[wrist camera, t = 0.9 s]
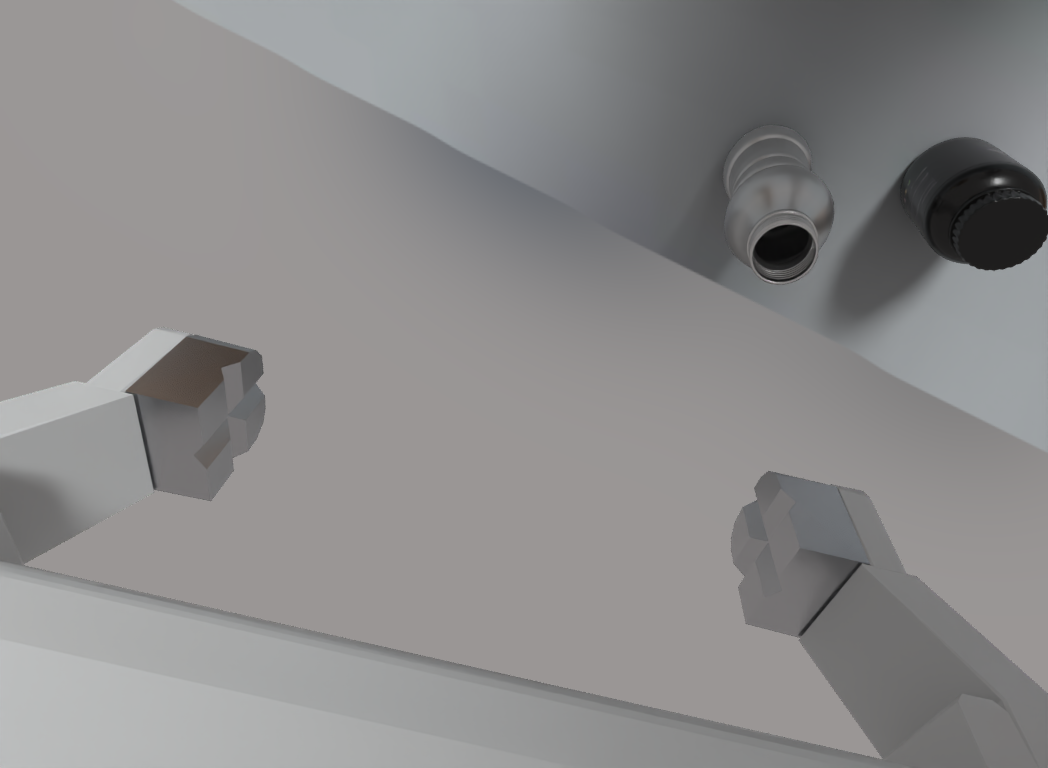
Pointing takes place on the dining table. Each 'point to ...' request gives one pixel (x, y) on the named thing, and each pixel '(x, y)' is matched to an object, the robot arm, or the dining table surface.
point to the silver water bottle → (775, 204)
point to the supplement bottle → (976, 204)
